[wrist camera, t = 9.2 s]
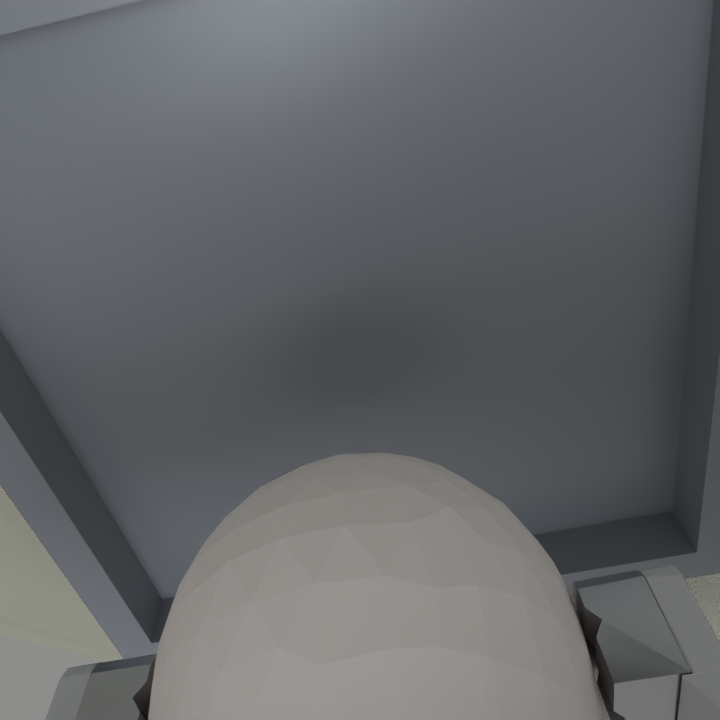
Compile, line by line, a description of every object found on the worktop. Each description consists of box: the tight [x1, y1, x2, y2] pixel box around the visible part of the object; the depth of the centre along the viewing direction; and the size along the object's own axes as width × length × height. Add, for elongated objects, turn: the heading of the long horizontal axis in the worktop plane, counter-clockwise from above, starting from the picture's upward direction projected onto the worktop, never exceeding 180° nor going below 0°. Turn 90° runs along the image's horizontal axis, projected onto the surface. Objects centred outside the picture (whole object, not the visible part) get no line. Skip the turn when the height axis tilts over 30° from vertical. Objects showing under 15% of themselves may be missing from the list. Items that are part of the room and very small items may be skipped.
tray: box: [0, 0, 720, 659], centre depth 17 cm, size 20×20×2 cm
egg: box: [148, 452, 605, 720], centre depth 10 cm, size 6×6×8 cm
